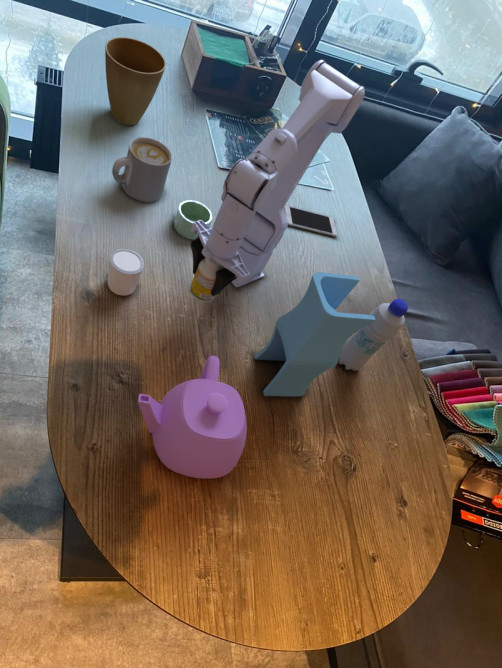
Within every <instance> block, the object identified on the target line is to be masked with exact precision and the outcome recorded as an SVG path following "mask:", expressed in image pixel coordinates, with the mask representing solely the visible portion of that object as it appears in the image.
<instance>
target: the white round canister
mask: <svg viewBox="0 0 502 668" xmlns="http://www.w3.org/2000/svg"><path fill="white" fill-rule="evenodd" d="M144 268H145V261H144V259H143V257H142V256H141V255H140V254H139V253H138V252H136V251H135V250H132V249H129V248H128V249H127V248H118V249H115V250H113V251H112V252H111V253H110V255H109V263H108V273H107V276H108V277H107V286H108V289H109V290H110V291H111V292H112V293H114V294H115V295H118V296H129V295H132V294H133V292H134V291H136V287H137V285H138V283H139V280H140V277H141V275H142V273H143V270H144Z"/></svg>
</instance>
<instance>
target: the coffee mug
mask: <svg viewBox="0 0 502 668" xmlns="http://www.w3.org/2000/svg"><path fill="white" fill-rule="evenodd" d="M128 144H129V145H128V149H127V154H126V156H123V157H118V159H116V160H115V161H114V163H113V164H112V168H111V169H112V171H111V173H112V177H113V179H114V180H115V181H116V182H117V183H120V184H121V186H122V190H123V191H124V192H125V193H126V194H127V195H128V196H129V197H131V198H132V199H135V200H137V201H140V202H142V203H153V202H154V203H155V202H157V201H159V200H160V199H161V198H162V196H163V192H164V189H165V185H166V182H167V177H168V175H169V171H170V168H171V163H172V160H173V154H172V152H171V150H170V148H168V146H167V145H166V144H164V143H163V142H161V141H160V140H157V139H155V138H151V137H146V136H139V137H135V138H133V139H132V140H131V141H130V142H129V143H128ZM123 167H124V169H123V173H122V174H120V170H121V169H122V168H123Z"/></svg>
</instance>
